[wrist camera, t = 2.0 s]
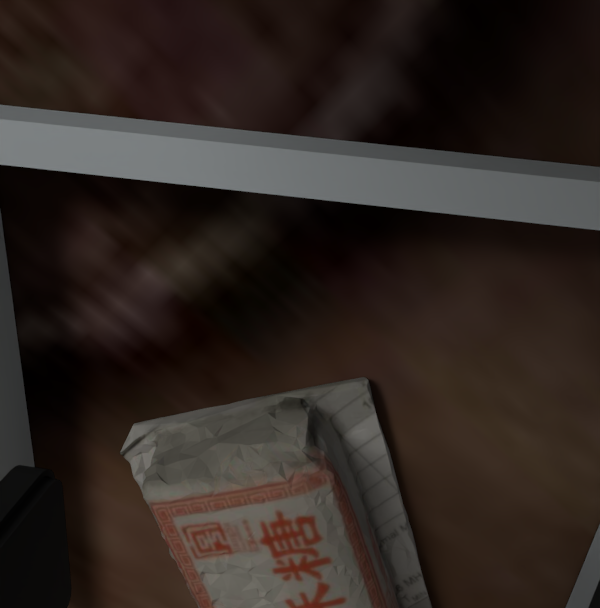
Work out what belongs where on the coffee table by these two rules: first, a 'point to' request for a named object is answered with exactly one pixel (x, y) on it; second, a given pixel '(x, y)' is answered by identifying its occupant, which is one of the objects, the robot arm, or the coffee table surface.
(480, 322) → the coffee table surface
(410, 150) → the open frame
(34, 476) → the robot arm
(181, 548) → the packaged product
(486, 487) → the coffee table surface
